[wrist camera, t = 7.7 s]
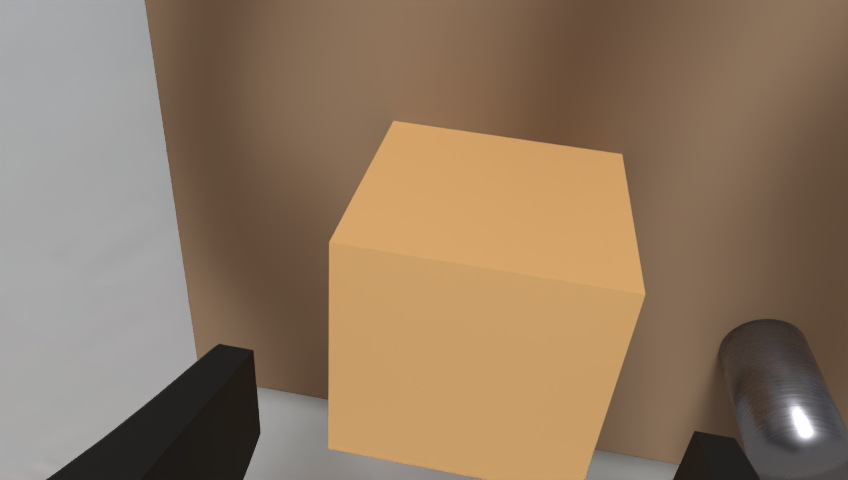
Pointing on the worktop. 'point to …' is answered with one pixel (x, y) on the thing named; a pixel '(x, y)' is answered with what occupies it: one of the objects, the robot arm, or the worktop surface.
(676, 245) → the walnut board
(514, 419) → the peach wooden cube
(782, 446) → the dark post
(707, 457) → the robot arm
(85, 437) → the worktop surface
